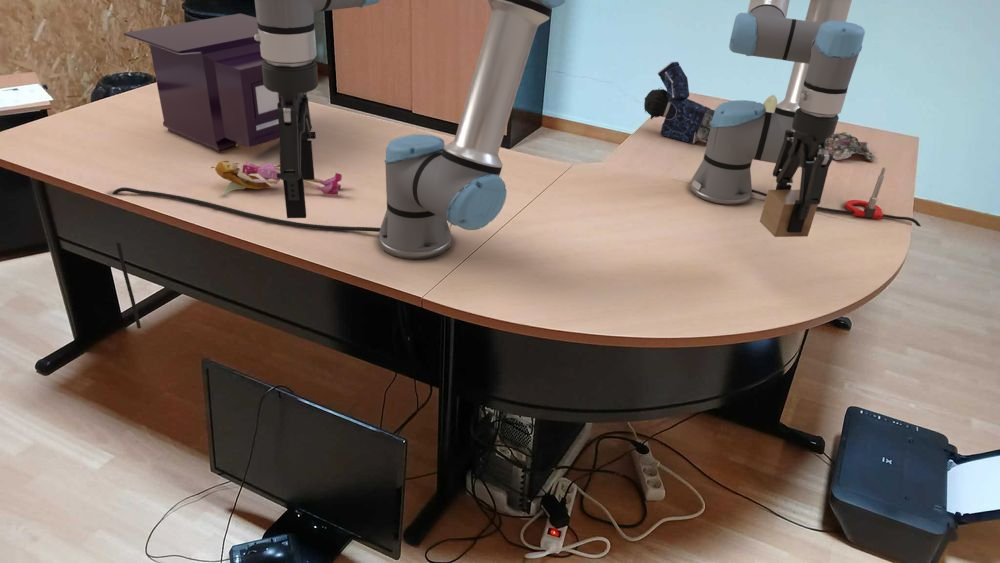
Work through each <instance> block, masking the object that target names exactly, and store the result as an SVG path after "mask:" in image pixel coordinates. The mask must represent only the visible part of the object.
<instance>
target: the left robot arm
mask: <svg viewBox="0 0 1000 563" xmlns="http://www.w3.org/2000/svg"><path fill="white" fill-rule="evenodd" d="M381 1H382V0H254V7H255V17H256V18H257V24H258V33H259V34H255V37H254V39H255V40H256V41H260V42H261V44H260V51H261V57H262V58H264V59H265V60H264V61H263V62H262V73H263V82H264V86H265V87H266V88H267V89H268V90H270V91H272V92H277V93H279V94H280V95H281V97H280V102H278V104H277V113H278V120H279V138H278V142H279V143H278V144H279V165H280V173H277V179H280V180H281V181H282V182H283V184H282V185H283V193H284V194H283V195H284V202H285V210H286V219H306V218H307V205H306V196H305V187H304V183H303V180H314V177H315V166H314V156H313V144H312V140H316V138H317V132H316V131H312V129H313V125H312V120H311V113H310V108H309V107H310V106H309V98H308V94H307V93H309V92H312V91H314V90H316V88H318V85H319V75H318V63H317V61H316V60H315V58H317V40H316V28H315V13H319V12H327V11H334V10H335V11H336V10H344V9H353V8H360V9H361V8H362V9H363V8H364V7H367V6H371V5H376V4H379V3H380V2H381ZM487 2H488V4H489V6H490V9H491V15H490V18H489V21H488V24H487V28H486V31H485V34H484V39H483V41H482V45H481V48H480V52H479V54H478V57H477V58H478V59H477V62H476V65H475V69H474V72H473V76H472V79H471V82H470V86H469V89H468V93H467V96H466V99H465V102H464V105H463V109H462V112H461V116H460V120H459V123H458V126H457V130H456V133H455V138H454V140H452V141H451V142H449V143H448V144H445V140H444V139H443V138H442V137H440V136H437V135H432V134H409V135H404V136H399V137H397V138H394V139H392V140H391V141H390V142H389V143H388V144H387V146H386V148H385V159H384V164H385V186H386V187H385V188H386V211H385V214H384V216H383V219H382V222H381V226H380V227H374V226H373V227H372V226H343V225H325V224H313V223H306V222H305V223H304V222H297V221H291V220H285V219H279V218H274V217H270V216H264V215H259V214H255V213H252V212H248V211H243V210H240V209H236V208H232V207H228V206H223V205H220V204H217V203H212V202H208V201H205V200H200V199H196V198H192V197H187V196H182V195H176V194H172V193H165V192H160V191H159V192H158V191H152V190H151V191H150V190H142V189H137V188H132V187H126V186H124V187H119V188H117V189H115V190H113V192H112V195H118V194H119V193H121V192H128V193H129V192H130V193H133V194H138V195H146V196H155V197H161V198H166V199H174V200H179V201H182V202H183V201H184V202H189V203H194V204H198V205H202V206H205V207H210V208H214V209H217V210H221V211H224V212H229V213H233V214H236V215H239V216H243V217H244V216H245V217H248V218H253V219H256V220H259V221H266V222H271V223H275V224H279V225H280V224H281V225H287V226H293V227H299V228H306V229H313V230H314V229H315V230H329V231H347V232H375V233H378V245H379V247H380V248H381V249H382V250H383V251H384V252H385V253H387V254H388V255H391V256H393V257H395V258H400V259H404V260H405V259H406V260H424V259H431V258H434V257H437V256H440V255H442V254H444V253H445V252H446V251H448V249H449V248H450V247H451V245H452V233H451V229H452V226H457V227H459V228H461V229H463V230H466V231H477V230H480V229H482V228H484V227H486V226H488V225H489V223H491V222H493V221H494V220H495V219H496V218H497V217H498V215H499V214H500V213H501V211H502V209H503V207H504V204H505V203H506V199H507V192H508V190H507V185H506V183H505V181H504V180H503V179H502V177H500V175H501V172H502V168H503V165H504V164H503V163H502V161H501V158H500V156H499V152H500V149H501V145H502V143H503V139H504V135H505V132H506V129H507V126H508V123H509V121H510V117H511V114H512V110H513V107H514V103H515V101H516V97H517V94H518V90H519V88H520V85H521V81H522V78H523V76H524V71H525V69H526V65H527V62H528V59H529V55H530V53H531V49H532V46H533V43H534V40H535V37H536V33H537V31H538V28H539V26H541V25H542V24H544V23H546V22H547V21H548V20H550V17H551V14H552V10H553V9H554V8H557V7H560V6H562V5H564V4H565V2H566V0H487ZM306 92H307V93H306ZM449 224H450V225H449ZM115 242H116V249H117V254H118V257H119V262H120V266H121V270H122V274H123V278H124V282H125V285H126V288H127V292H128V295H129V300H130V304H131V307H132V311H133V315H134V319H135V324H136V328H137V329H138V330H140V329H141V328H142V326H141V321H140V317H139V312H138V308H137V305H136V301H135V296H134V293H133V289H132V285H131V282H130V278H129V274H128V271H127V266H126V263H125V262H126V261H125V259H124V254H123V248H122V245H121V243H120V242H117V241H115Z"/></svg>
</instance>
